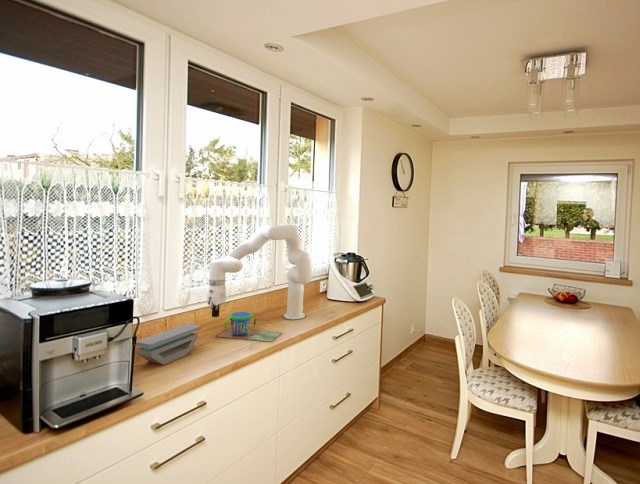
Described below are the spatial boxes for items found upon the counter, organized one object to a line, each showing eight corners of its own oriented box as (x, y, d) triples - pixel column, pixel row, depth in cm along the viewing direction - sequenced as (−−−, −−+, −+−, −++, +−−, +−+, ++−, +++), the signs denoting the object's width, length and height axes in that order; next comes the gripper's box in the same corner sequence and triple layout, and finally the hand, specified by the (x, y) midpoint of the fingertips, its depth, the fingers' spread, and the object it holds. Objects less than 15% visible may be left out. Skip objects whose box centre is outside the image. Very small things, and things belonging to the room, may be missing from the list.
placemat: (230, 328, 198) (230, 328, 198) (281, 333, 195) (281, 332, 195) (216, 337, 185) (216, 336, 185) (270, 342, 182) (271, 341, 182)
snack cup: (253, 328, 199) (254, 310, 199) (257, 334, 190) (258, 315, 190) (222, 332, 190) (223, 313, 190) (225, 338, 182) (226, 319, 181)
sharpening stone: (148, 371, 144) (149, 344, 144) (133, 367, 147) (134, 341, 146) (199, 349, 168) (200, 326, 168) (185, 346, 171) (187, 323, 170)
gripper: (215, 285, 183) (213, 321, 183) (231, 280, 198) (229, 313, 198) (201, 284, 184) (199, 320, 184) (218, 279, 198) (216, 312, 199)
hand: (215, 316), depth 191 cm, fingers closed
